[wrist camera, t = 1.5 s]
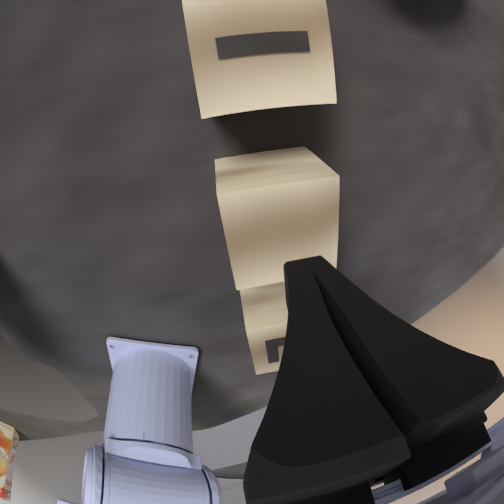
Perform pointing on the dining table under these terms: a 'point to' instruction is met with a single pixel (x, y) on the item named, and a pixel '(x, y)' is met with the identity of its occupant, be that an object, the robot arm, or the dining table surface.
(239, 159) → the plain block
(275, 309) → the numbered block seven
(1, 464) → the coffeecake box
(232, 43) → the numbered block one
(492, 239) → the dining table surface
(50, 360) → the dining table surface
